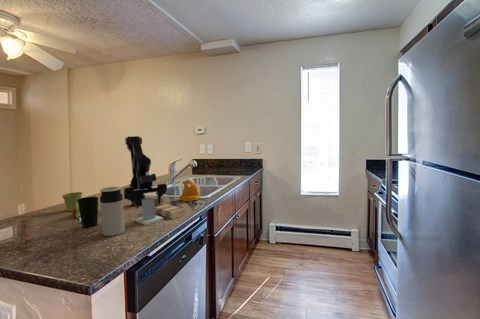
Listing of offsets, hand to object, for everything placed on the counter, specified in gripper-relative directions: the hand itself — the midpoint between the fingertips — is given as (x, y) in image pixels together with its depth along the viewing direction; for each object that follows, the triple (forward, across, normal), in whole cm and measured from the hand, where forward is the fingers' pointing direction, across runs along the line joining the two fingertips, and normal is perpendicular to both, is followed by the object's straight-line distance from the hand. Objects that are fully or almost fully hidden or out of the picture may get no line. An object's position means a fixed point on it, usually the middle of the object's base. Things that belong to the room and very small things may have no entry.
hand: (148, 206), depth 116 cm
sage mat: (+4, 0, +6) cm, 7 cm away
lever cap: (+3, 0, +5) cm, 6 cm away
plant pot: (-25, -32, +35) cm, 53 cm away
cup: (-1, -23, +10) cm, 26 cm away
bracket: (-15, +28, +25) cm, 40 cm away
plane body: (-1, +10, +11) cm, 14 cm away
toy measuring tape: (-12, -27, +22) cm, 37 cm away
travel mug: (+10, -15, 0) cm, 18 cm away
